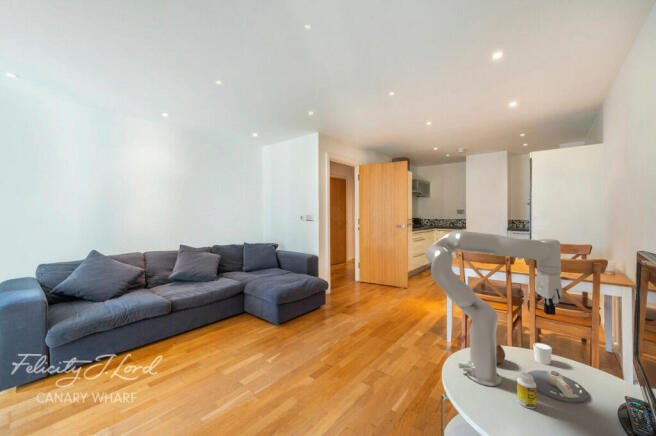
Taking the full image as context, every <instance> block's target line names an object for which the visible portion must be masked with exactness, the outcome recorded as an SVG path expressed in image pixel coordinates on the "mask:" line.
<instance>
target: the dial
mask: <svg viewBox="0 0 656 436" xmlns="http://www.w3.org/2000/svg"><path fill="white" fill-rule="evenodd" d="M547 371H548V370H547ZM547 371H546V370H541V369H540V370H539V369H538V370H530V371H529V372H527V374H530V375H532V376H533V380H534V382H535V383H536V392H538V393H540V394H542V395H544V396H546V397H548V398H551V399H553V400H556V401H560V402H565V403H571V404H582V403H584V402H586V401H587V400H588V392H587V390H586V389H585V387H583V386H582V385H580V383H578V382H576V381H575V380H573V379H571V378H570V377H566V376H565V375H563V381H564V382H565V383H566V384H567V385H569V386H570V387H571V388H572V389H573V398H571V397H566V396H565V395H564V394H563V393H562V392H561V390H560V389H559V388H558V387H556V386H553V385H551V384H549V383H548V382H547Z"/></svg>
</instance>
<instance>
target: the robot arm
mask: <svg viewBox="0 0 656 436" xmlns="http://www.w3.org/2000/svg"><path fill="white" fill-rule="evenodd" d="M561 246H562V244H561V242H560V241H559V240H557V239H551V238H550V239H549V238H543V239H541V238H540V239H530V238H529V239H528V238H518V237H517V238H516V237H512V236H511V237H510V236H505V235H500V234H493V233H485V232H474V231H466V230H465V231H463V230H458V229H457V230H456V229H455V230H452V231H450V232H448V233H447V234H446V235H444V236H443V237H441V238H439V239H438V240H436V241H435V242H433V243H432V244H430V246H428V248H427V249H426V252H425V257H426V258H427V260H428V261H429V263H431V267H430V272H431V273H430V274H431V277H432V279H433V280H434V281H435V283H436V284H437V285H438V287H440V288H441V289H442V291H443V292H444V293H445V296H446V297H447V298H448V299H449V300H450V301H451V302H452V303H454V305H456V306H457V307H458V308H459V309H460V310H461V311H462V312H463V313H464V314H465V315H466V316H467V317H469V318H470V319H471V324H470V328H469V352H470V353H469V355H470V360H469V361H468V362H466V363H459V362H458V364H457V365H458V368H459V369H462V372H466V375H467V376H468V377H469V379H471V380H472V381H473V382H475V383H477V384H480V385H484V386H489V387H495V386H499V385H501V383H502V378H501V374H499V373H498V372H497V364H496V343H497V327H498V323H499V315H498V313H497V310H496V308H494V307H493V306H492V305H491V304H489V303H488V302H487V301H484V300H483V299H481V298H480V297H479V296H478V295H477V294H475V291H474V290H473V288H471V287H472V286H471V287H470V285H468V284H466V283H465V281H464V280H462V279H461V278H460V276H458V275H457V274H456V273H455V272H454V270H453V260H454V257H453V253H455V252H456V251H457V250H458V251H460V252H461V251H462V252H466V253H467V252H468V253H477V254H484V255H485V254H486V255H494V256H501V257H510V258H519V259H526V260H536V280H535V282H536V283H535V292H536V294H538V295H539V296H541V297H542V302H543V313H544V314H545V315H547V316H548V315H550V316H551V315H552V316H556V305H557V304H560V301H559V300H562V298H563V297H562V296H563V289H562V287H563V286H562V279H561V275H562V259H561V257H562V255H561V254H562V253H561V252H562V251H561Z"/></svg>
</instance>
